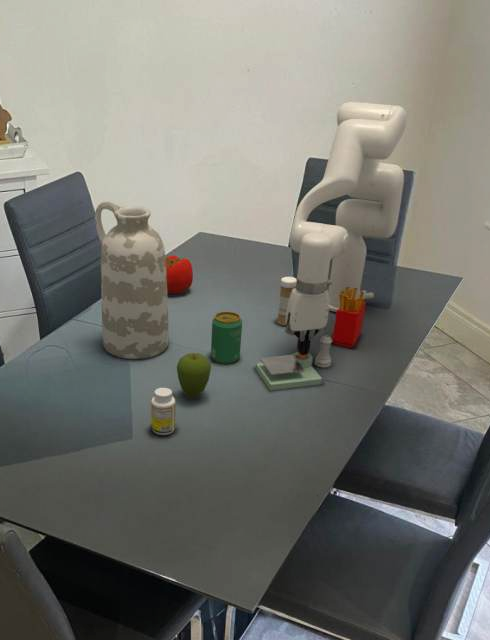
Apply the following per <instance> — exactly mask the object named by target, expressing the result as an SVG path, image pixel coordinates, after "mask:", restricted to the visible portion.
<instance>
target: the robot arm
mask: <svg viewBox="0 0 490 640" xmlns="http://www.w3.org/2000/svg"><path fill="white" fill-rule="evenodd" d="M336 124H337V128H336V130H335V133H334V137H333V142H332V144H331V149H330V152H329V156H328V159H327V163H326V167H325V171H324V175H323V178H322V179H321V180H320V182H318V183H317V184H316V185H315V186H314V187H312V188H311V189H310V190H309V191H308V192H307V193H306V194H305V195H304V197H303V198H302V199H301V201H300V202H299V204H298V206H297V208H296V211H295V214H294V218H293V221H292V225H291V228H290V234H289V239H288V241H289V246H290V249H291V250H292V251H294V252H296V253H298V254H299V257H298V267H297V274H296V275H297V276H296V279H297V282H296V288H295V289H293V290H292V292H291V295H290V299H289V302H288V307H287V312H286V318H285V323H286V324H287V325H286V328H285V333H286V334H287V335H291V336H295V337H296V338H297V344H296V350H297V351H298V352H300V354H301V355H304V354H305V355H308V354H309V351H310V349H311V343H312V341H313V340H314V337H315V336H316V335H317V334H318V333H321V332H324V331H326V329H327V324H328V321H329V320H328V319H329V312H333V313H336V312H337V310H339V308H340V298H339V295H340V294H341V291H344V295H345V288H346V287H347V286H348V287H349V290H350V289H352V290H353V291H354V288H357V292H356V297H355V300H356V298H358V297H359V298H360V292H361V291H362V290H361V286H362V281H363V276H364V275H363V274H364V270H365V264H366V259H367V258H366V257H367V245H366V242H365V240H364V238H363V237H368V238H376V239H389V238H391V237H392V236H393V235H394V234H395V232H396V229H397V225H398V222H399V216H400V210H401V209H400V208H401V204H402V203H401V202H402V197H403V190H404V183H405V173H404V170H403V168H402V167H401V166H399V165H397V164H393V163H385V162H380V161H384V160H387V159H388V158H390V157H391V155H392V154H393V153H394V151H395V149H396V147H397V145H398V143H399V142H400V140H401V139H402V137H403V135H404V132H405V129H406V127H407V126H406V125H407V112H406V109H405V108H404V107H402V105H401V106H400V105H396V104H395V105H394V104H382V103H372V102H362V101H361V102H359V101H348V102H345V103H342V104H341V105H340V106H339V108H338V110H337V113H336ZM346 195H347V196H348V197H351V198H348V199H345V200H343V201H341V202H340V203H339V205H338V206H337V208H336V211H335V224H328V223H327V224H326V223H320V222H314V221H308V218H309V216H310V214H311V213H312V212H313V211H314V209H316V208H317V207H318V206H320V205H322V204H324V203H326V202H329V201H331V200H335V199H338V198H340V197H344V196H346ZM331 261H332V262H331ZM330 265H331V266H330ZM330 267H331V270H330ZM329 272H330V276H329ZM363 291H364V293H363V298H364V300H372V299H374V297H375V294H374V292H367V290H363ZM352 296H353V292H352ZM351 300H352V298H351Z"/></svg>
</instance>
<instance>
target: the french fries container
mask: <svg viewBox="0 0 490 640" xmlns="http://www.w3.org/2000/svg"><path fill="white" fill-rule="evenodd" d="M360 291H361V292H360V298H359V297H358V298H356V300H355V297H356V292H357V288H354V291H353V290H352V289H350V290H349V287H348V286H347V287H346V288H345V295H344V291H341V294H340V295H339V298H340V308H339V310H337V312H335V318H334V325H333V332H332V337H331V339H332V342H331V344H334V346H335V345H336V346H339V347H340V346H342V347H346V348H354V347H355V345H356V343H358V342H357V341H358V340H359V338H360V336H361V333H362V327H363V323H364V321H363V320H364V316H365V310H366V306H367V305H366V304H367V301H365V299H364V298H363V293H364V291H365V290H360ZM352 292H353V296H352ZM351 298H352V300H351Z"/></svg>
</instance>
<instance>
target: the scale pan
mask: <svg viewBox="0 0 490 640" xmlns="http://www.w3.org/2000/svg"><path fill="white" fill-rule="evenodd" d="M259 361H260V363H263V364H264V366H265V367H266V368H267V370H268V371H269V373H270V374H271V375H279V374H288V373H296V372H305V370H304V369H303V368H302V366H301V365H300V364H299V363H298V361H297V360H296V359H295V358H294V356H293V355H292V354H286V355H277V356H269V357H260V358H259Z"/></svg>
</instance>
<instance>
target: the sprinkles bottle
mask: <svg viewBox="0 0 490 640" xmlns="http://www.w3.org/2000/svg"><path fill="white" fill-rule="evenodd" d="M296 282H297V277H294V276H284V277H281V279H280V291H279V293H280V294H279V299H278V300H279V301H278V311H277V312H278V313H277V321H276V322H277V324H278V325H280V326H286V327H287V324H286V323H285V318H286V312H287V307H288V302H289V299H290V295H291V292H292V290H293V289H295V288H296Z"/></svg>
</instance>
